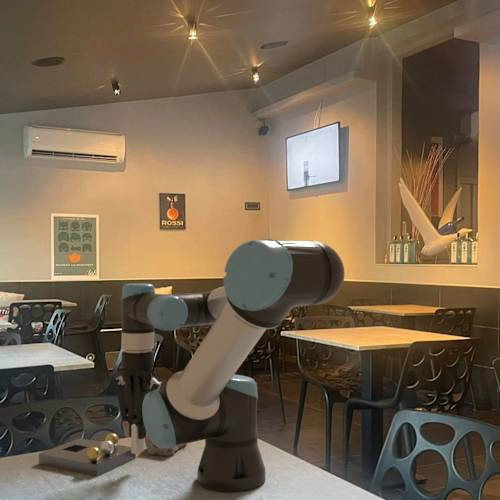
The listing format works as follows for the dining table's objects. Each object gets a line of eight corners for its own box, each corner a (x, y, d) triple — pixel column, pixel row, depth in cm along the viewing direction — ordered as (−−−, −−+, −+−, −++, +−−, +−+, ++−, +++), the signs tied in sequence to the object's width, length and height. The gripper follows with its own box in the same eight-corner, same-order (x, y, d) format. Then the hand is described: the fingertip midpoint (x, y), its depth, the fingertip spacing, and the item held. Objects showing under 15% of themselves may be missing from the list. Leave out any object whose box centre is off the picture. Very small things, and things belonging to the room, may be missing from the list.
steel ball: (117, 453, 146) (117, 439, 146) (108, 457, 143) (108, 443, 143) (106, 451, 148) (106, 438, 148) (97, 455, 145) (97, 441, 145)
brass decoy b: (121, 445, 152) (121, 432, 152) (112, 449, 149) (112, 435, 149) (111, 443, 154) (111, 430, 154) (102, 447, 151) (102, 434, 151)
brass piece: (103, 460, 141) (103, 446, 141) (94, 464, 138) (94, 450, 138) (93, 458, 143) (93, 444, 143) (83, 462, 140) (83, 448, 140)
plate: (135, 458, 150) (135, 447, 150) (97, 476, 138) (97, 465, 138) (79, 447, 158) (79, 438, 158) (38, 463, 146) (38, 453, 146)
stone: (192, 441, 164) (156, 441, 165) (191, 420, 163) (154, 420, 165) (180, 462, 151) (141, 462, 152) (179, 439, 150) (139, 440, 152)
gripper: (170, 350, 142) (170, 451, 142) (125, 346, 148) (125, 443, 148) (151, 354, 135) (150, 461, 135) (105, 350, 141) (104, 452, 141)
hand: (137, 451), depth 142 cm, fingers closed
